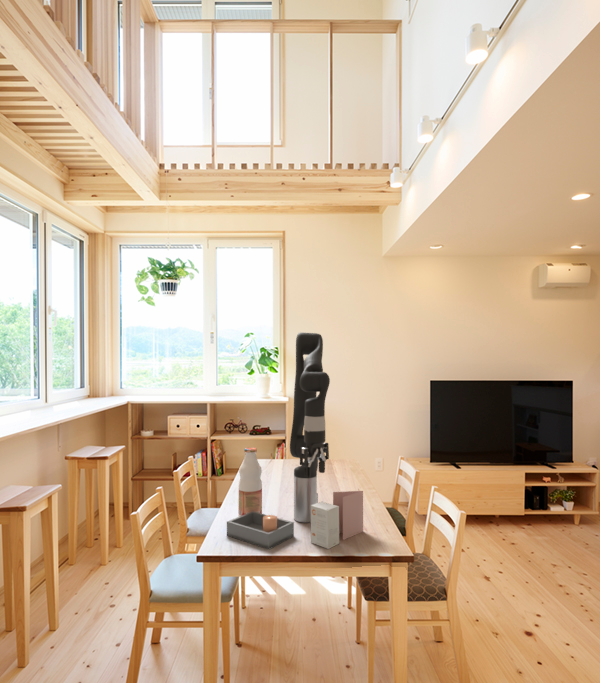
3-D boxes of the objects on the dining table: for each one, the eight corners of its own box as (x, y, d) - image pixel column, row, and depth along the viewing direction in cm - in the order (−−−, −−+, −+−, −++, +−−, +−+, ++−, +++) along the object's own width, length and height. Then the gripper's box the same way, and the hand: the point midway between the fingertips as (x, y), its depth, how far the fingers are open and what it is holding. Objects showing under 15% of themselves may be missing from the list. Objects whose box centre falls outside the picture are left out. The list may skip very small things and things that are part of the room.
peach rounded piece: (268, 533, 163) (269, 514, 164) (279, 537, 160) (280, 517, 161) (259, 538, 159) (260, 518, 159) (270, 541, 156) (271, 521, 157)
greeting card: (362, 530, 169) (362, 490, 170) (368, 538, 162) (368, 496, 162) (332, 532, 168) (332, 491, 168) (337, 540, 160) (337, 497, 161)
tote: (252, 524, 175) (252, 511, 176) (293, 536, 164) (293, 522, 164) (226, 535, 164) (226, 521, 164) (268, 549, 152) (268, 534, 153)
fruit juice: (233, 519, 180) (233, 449, 181) (248, 513, 188) (249, 445, 189) (251, 524, 175) (252, 451, 176) (266, 517, 183) (266, 447, 184)
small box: (339, 543, 157) (339, 506, 158) (328, 549, 152) (327, 510, 153) (321, 537, 163) (321, 500, 163) (310, 542, 158) (310, 505, 158)
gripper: (317, 425, 167) (317, 469, 167) (293, 430, 156) (293, 477, 155) (334, 427, 163) (334, 472, 162) (311, 432, 151) (311, 481, 151)
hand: (314, 475), depth 159 cm, fingers open, 8 cm apart
